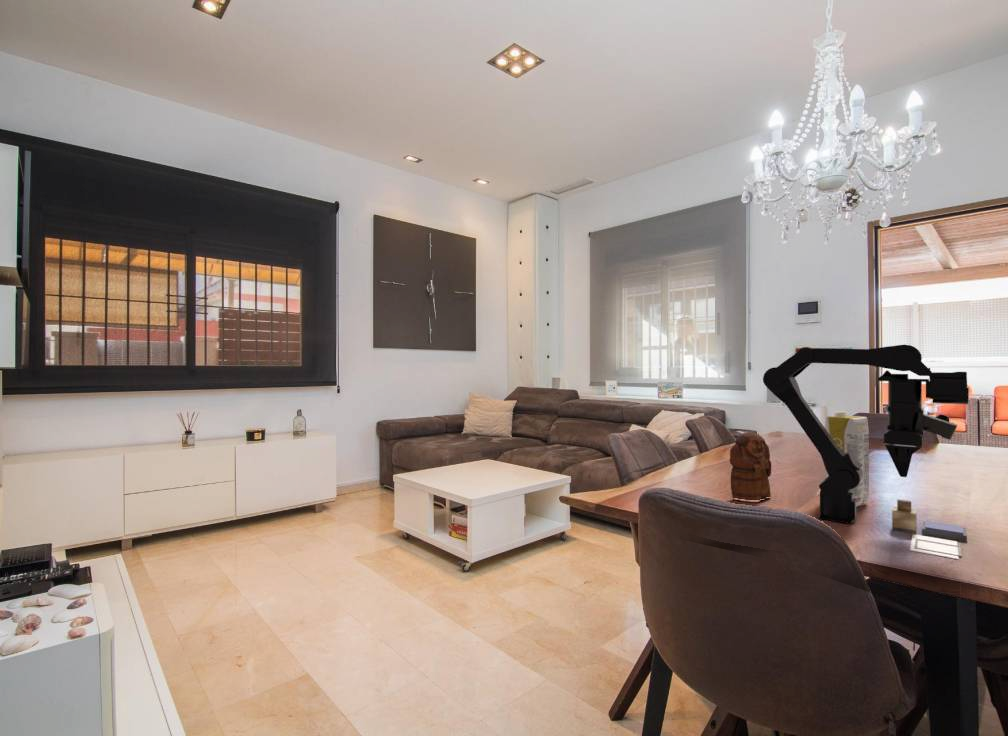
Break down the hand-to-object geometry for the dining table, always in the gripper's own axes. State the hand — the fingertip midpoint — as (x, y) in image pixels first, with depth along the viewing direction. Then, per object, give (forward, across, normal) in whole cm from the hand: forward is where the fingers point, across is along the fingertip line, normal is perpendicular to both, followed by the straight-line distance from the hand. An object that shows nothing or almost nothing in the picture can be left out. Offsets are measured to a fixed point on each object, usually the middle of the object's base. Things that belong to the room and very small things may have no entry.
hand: (904, 473), depth 109 cm
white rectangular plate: (+12, -9, -5) cm, 16 cm away
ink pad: (+12, +2, -6) cm, 14 cm away
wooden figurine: (+13, +6, +32) cm, 35 cm away
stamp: (+12, 0, 0) cm, 13 cm away
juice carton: (+13, +17, +12) cm, 24 cm away
